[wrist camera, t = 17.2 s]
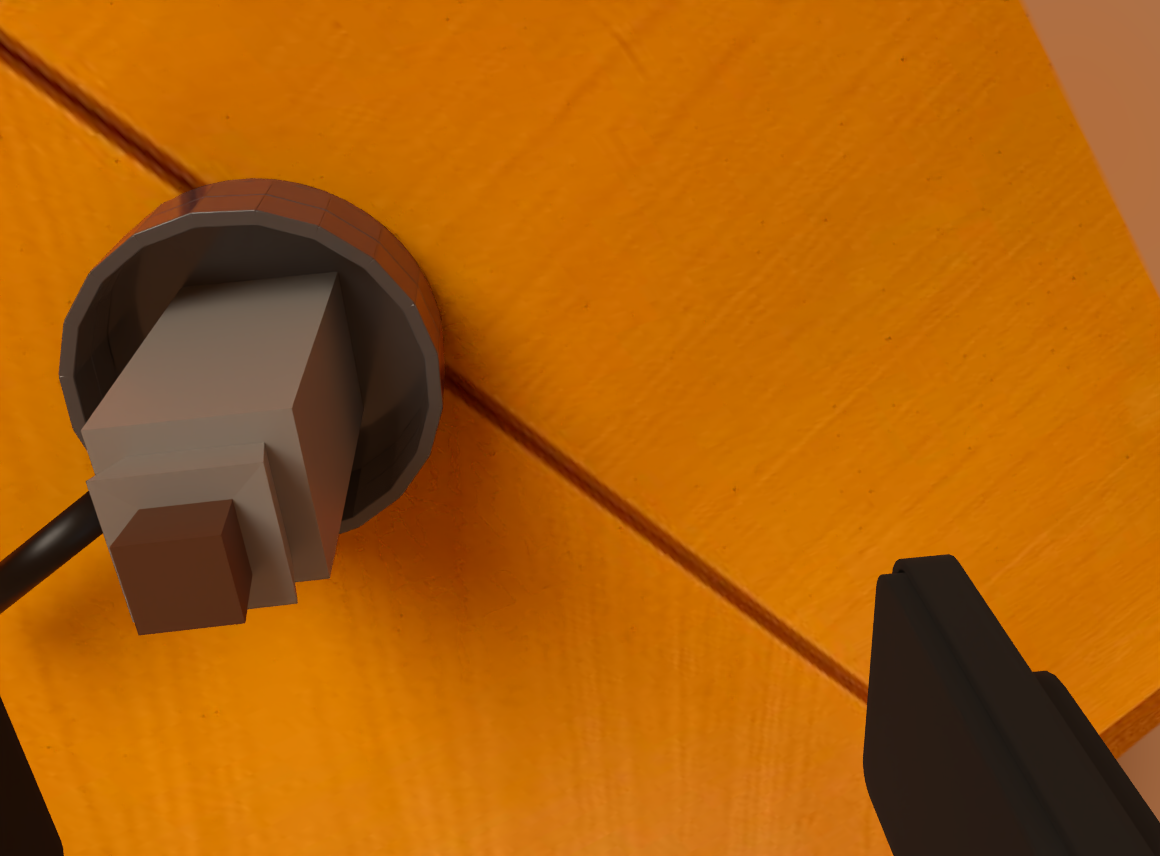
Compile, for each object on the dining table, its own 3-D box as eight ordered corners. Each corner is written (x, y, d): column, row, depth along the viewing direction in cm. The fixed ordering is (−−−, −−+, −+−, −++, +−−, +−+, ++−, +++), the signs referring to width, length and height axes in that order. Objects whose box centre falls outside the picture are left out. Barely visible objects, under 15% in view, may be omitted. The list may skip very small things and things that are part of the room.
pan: (277, 102, 44) (255, 128, 39) (511, 365, 50) (515, 413, 46) (23, 323, 47) (-24, 369, 43) (272, 544, 53) (255, 604, 49)
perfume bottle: (181, 287, 46) (29, 503, 30) (337, 271, 47) (268, 477, 31) (217, 425, 50) (96, 686, 34) (363, 409, 50) (313, 661, 34)
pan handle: (118, 462, 47) (106, 482, 46) (150, 489, 48) (139, 510, 46) (-75, 617, 50) (-93, 642, 48) (-42, 640, 51) (-59, 665, 49)
